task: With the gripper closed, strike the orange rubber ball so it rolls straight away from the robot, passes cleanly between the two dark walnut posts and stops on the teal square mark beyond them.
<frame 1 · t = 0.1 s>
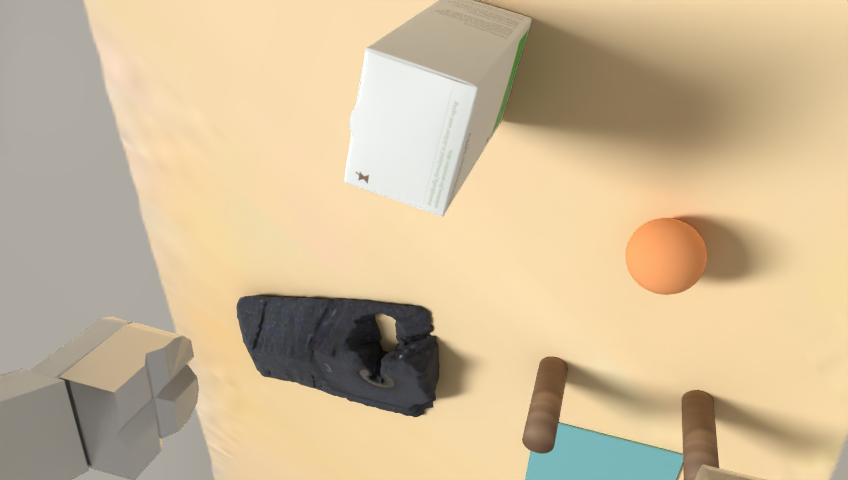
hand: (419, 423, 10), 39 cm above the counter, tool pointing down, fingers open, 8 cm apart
post 2: (697, 401, 57), on the counter
ball: (665, 256, 47), on the counter
skincare box: (475, 55, 47), on the counter
post 1: (553, 367, 60), on the counter
dark slate chunk: (342, 341, 68), on the counter
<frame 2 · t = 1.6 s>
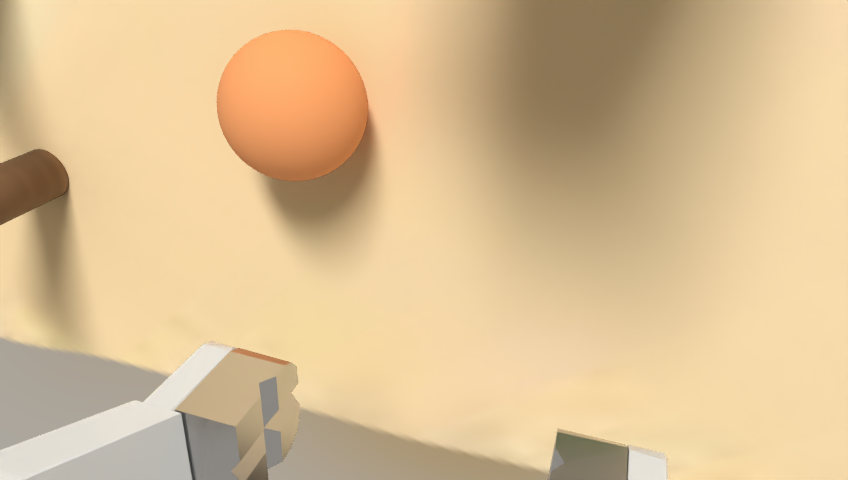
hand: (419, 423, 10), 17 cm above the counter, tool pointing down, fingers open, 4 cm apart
post 2: (47, 173, 34), on the counter
ball: (294, 107, 25), on the counter
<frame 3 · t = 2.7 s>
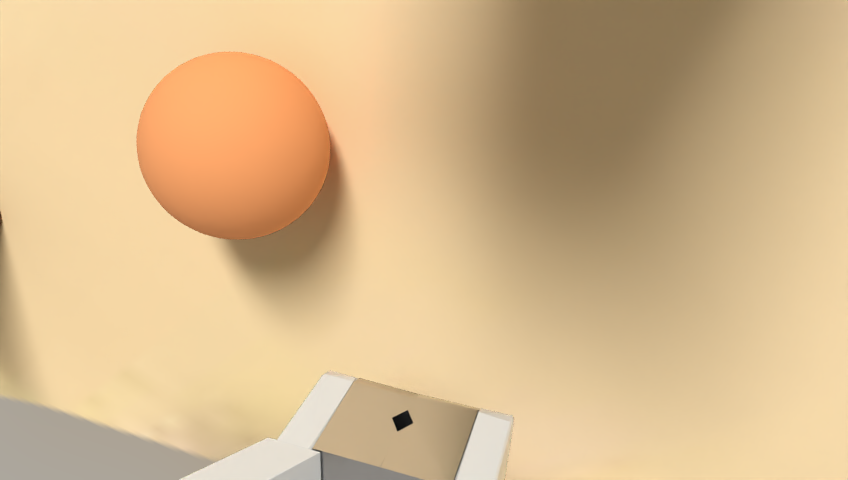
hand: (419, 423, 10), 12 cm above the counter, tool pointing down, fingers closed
ball: (237, 147, 20), on the counter
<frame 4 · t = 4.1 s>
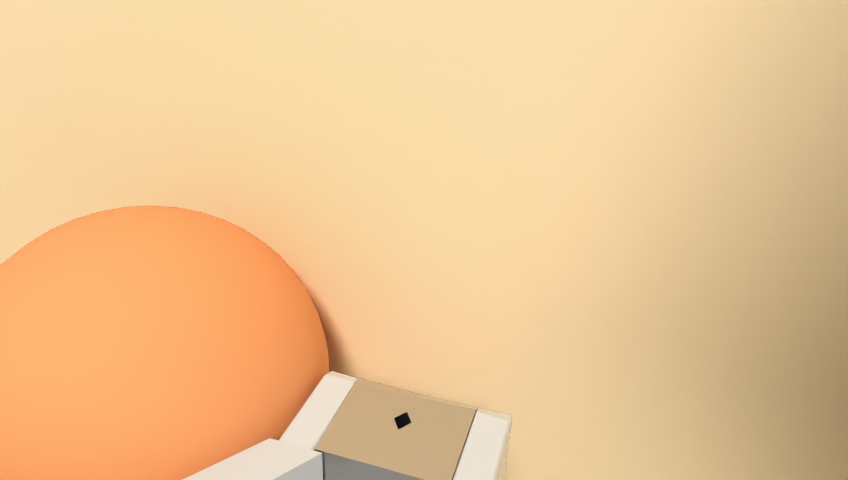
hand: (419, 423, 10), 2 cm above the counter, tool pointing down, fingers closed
ball: (154, 379, 10), on the counter
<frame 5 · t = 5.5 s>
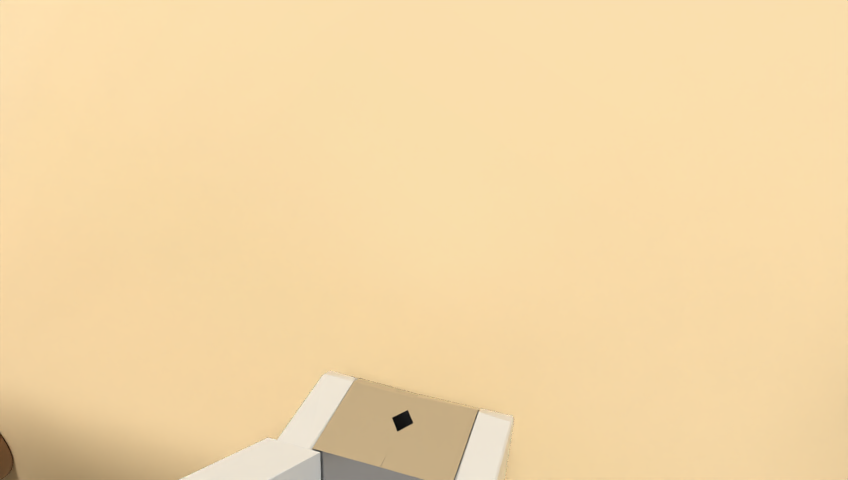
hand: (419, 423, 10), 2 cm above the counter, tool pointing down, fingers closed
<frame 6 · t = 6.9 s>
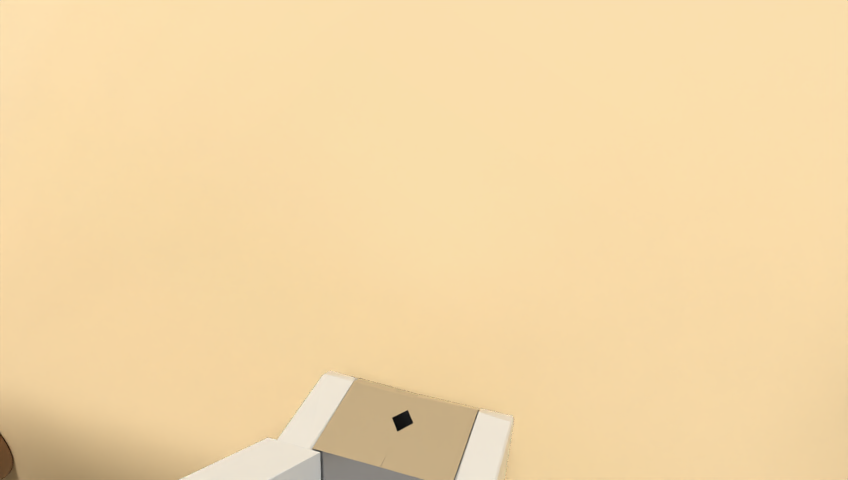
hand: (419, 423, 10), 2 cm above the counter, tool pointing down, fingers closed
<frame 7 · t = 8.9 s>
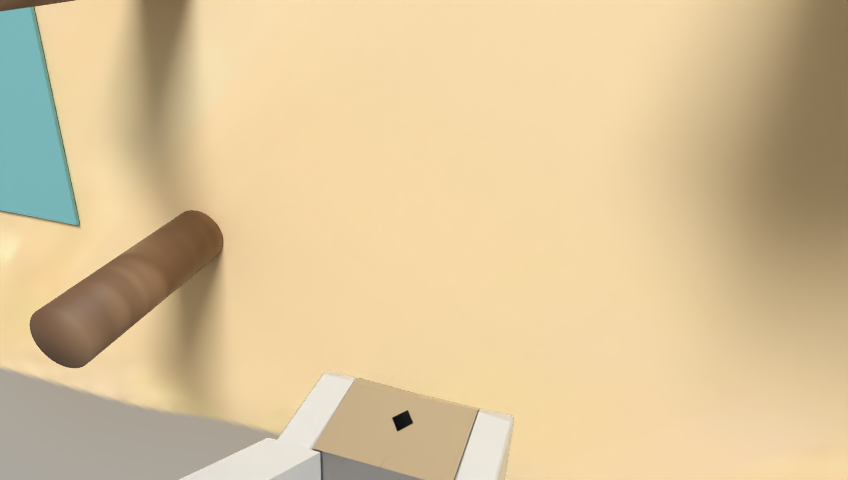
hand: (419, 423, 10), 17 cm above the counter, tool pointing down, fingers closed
post 2: (199, 235, 31), on the counter
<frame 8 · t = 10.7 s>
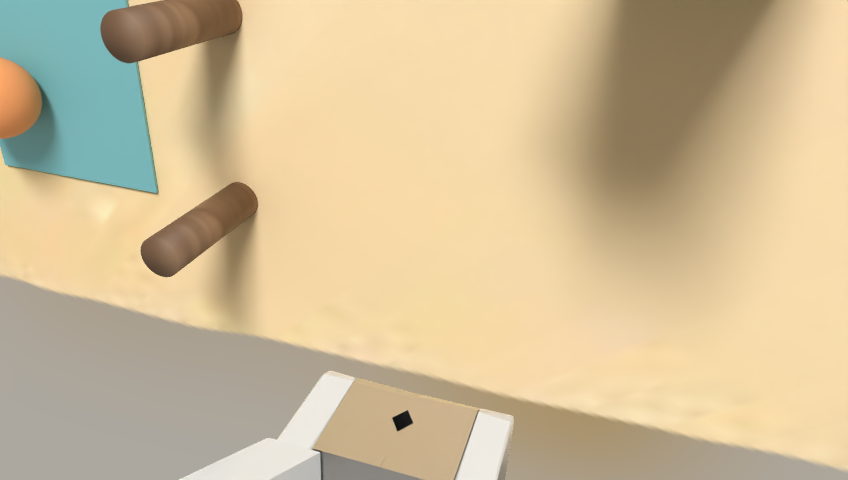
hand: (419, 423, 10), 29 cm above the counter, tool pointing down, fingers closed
post 2: (241, 199, 46), on the counter
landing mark: (60, 86, 46), on the counter
post 1: (223, 12, 40), on the counter
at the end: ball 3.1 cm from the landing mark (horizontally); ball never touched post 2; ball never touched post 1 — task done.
